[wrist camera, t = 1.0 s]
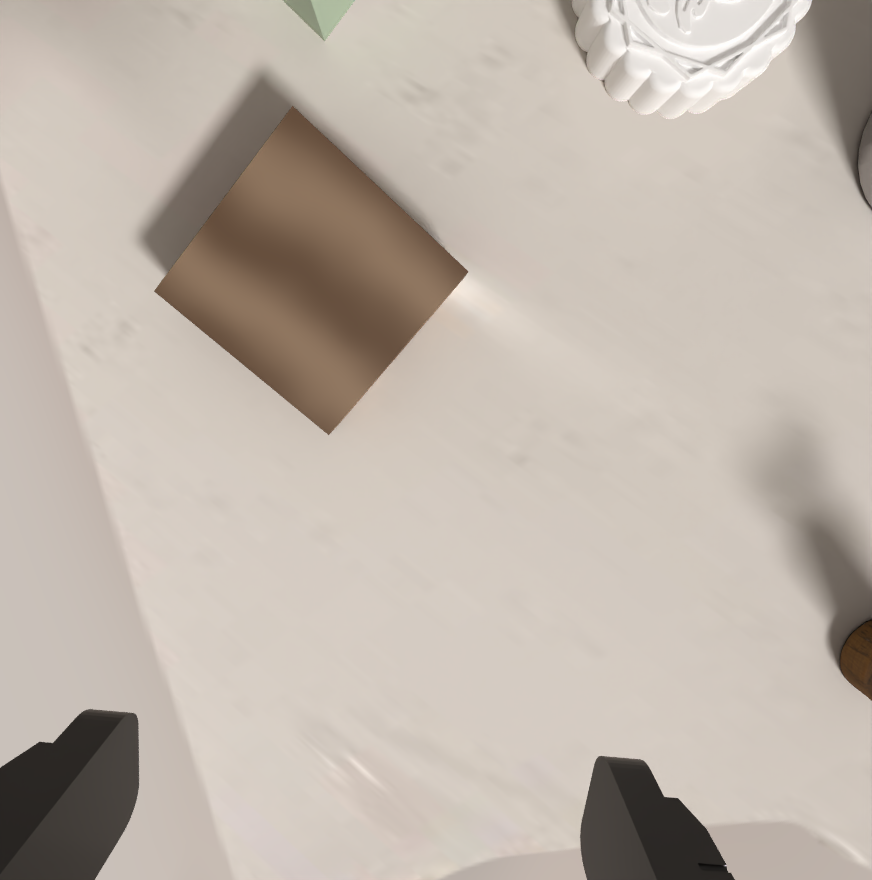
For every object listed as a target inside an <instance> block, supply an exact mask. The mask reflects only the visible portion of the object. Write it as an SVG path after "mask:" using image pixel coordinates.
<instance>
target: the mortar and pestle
mask: <svg viewBox="0 0 872 880" xmlns="http://www.w3.org/2000/svg"><path fill="white" fill-rule="evenodd" d="M840 666H841V670H842V673H843V675H844V676H845V678H846V679H847V680H848V681H849V682H850V683H851V684H852V685H853V686H854V687H855V688H857V689H858V690H859V691H861V692H862V693H863V694H864V695H866V696H867V697H868V698H869V699H870V700H872V620H870V621H868V622H866V623H865V624H863V625H862V626H860V627H859V628H858V629H856V630H855V631H854V632H853V633H852V634H851V635H850V637H849V638H848V640H847V641H846V643H845V645H844V647H843V649H842V652H841V658H840Z"/></svg>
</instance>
